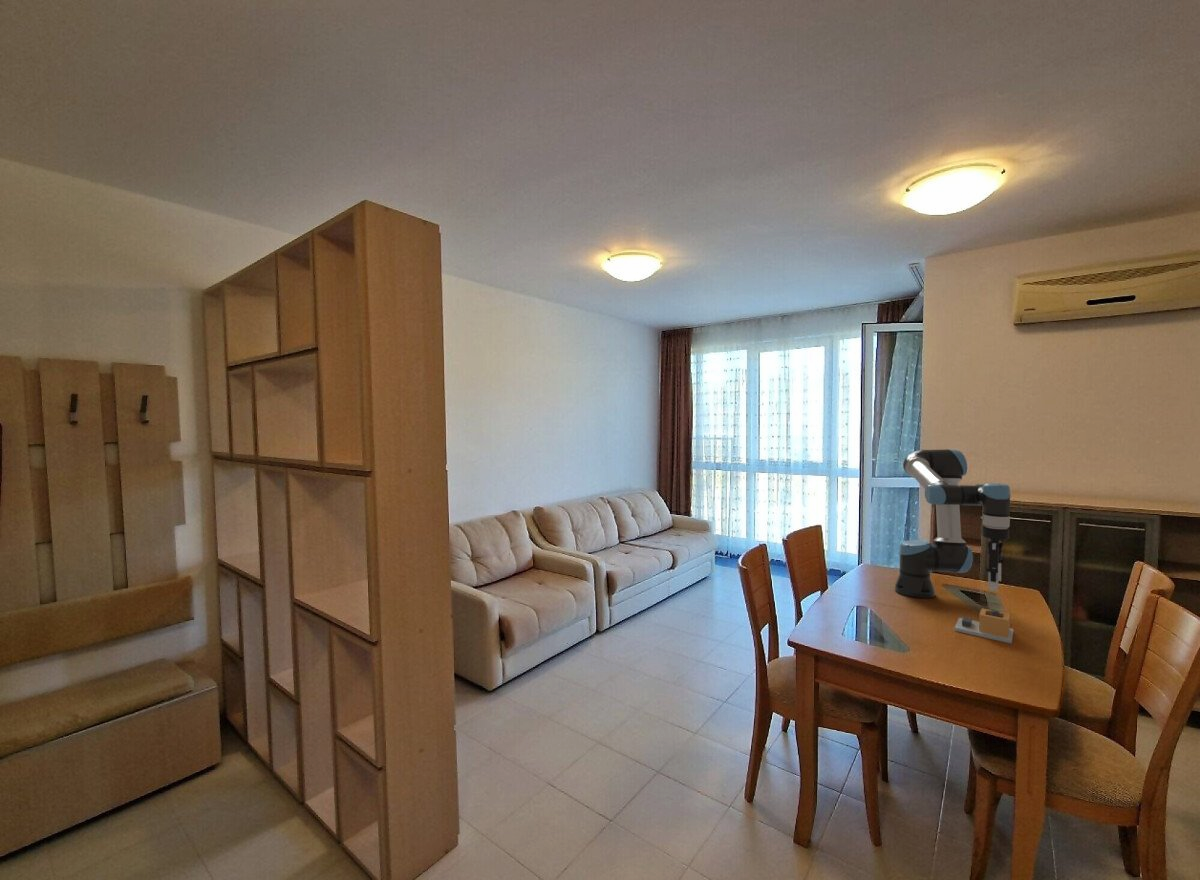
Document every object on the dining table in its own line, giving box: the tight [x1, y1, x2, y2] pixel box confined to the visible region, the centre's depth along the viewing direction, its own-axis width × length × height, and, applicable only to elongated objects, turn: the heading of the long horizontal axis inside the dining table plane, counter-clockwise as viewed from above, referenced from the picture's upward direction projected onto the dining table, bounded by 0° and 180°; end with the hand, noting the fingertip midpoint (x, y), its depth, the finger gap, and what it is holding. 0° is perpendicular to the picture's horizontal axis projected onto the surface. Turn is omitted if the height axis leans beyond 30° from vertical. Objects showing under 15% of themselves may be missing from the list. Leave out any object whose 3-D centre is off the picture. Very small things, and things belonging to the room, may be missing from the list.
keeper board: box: [954, 609, 1014, 645], centre depth 178 cm, size 12×16×8 cm
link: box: [978, 607, 1011, 637], centre depth 176 cm, size 8×8×6 cm
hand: (994, 585), depth 176 cm, fingers open, 13 cm apart
